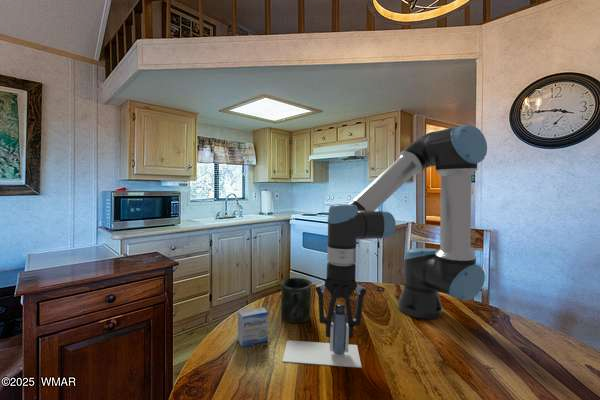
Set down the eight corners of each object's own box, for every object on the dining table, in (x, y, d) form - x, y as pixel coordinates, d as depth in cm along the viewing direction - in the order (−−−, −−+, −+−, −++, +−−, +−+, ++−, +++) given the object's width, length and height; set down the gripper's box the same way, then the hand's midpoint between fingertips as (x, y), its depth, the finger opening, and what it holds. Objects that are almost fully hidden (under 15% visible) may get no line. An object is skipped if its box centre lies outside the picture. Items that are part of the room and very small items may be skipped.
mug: (310, 310, 104) (311, 278, 103) (312, 330, 89) (313, 292, 88) (281, 309, 104) (281, 277, 103) (277, 329, 89) (278, 292, 89)
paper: (356, 345, 81) (356, 345, 81) (361, 367, 71) (361, 366, 71) (287, 340, 82) (287, 340, 82) (282, 361, 72) (282, 361, 72)
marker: (344, 347, 78) (346, 303, 77) (345, 354, 74) (347, 308, 74) (332, 346, 78) (333, 302, 77) (332, 354, 74) (333, 307, 74)
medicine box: (241, 347, 78) (241, 317, 78) (237, 340, 82) (237, 310, 82) (268, 341, 82) (268, 312, 82) (263, 334, 86) (263, 306, 86)
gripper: (309, 264, 72) (307, 354, 73) (375, 267, 71) (372, 359, 72) (311, 257, 80) (309, 339, 80) (370, 260, 78) (367, 343, 79)
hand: (338, 348), depth 76 cm, fingers closed on marker, 3 cm apart
